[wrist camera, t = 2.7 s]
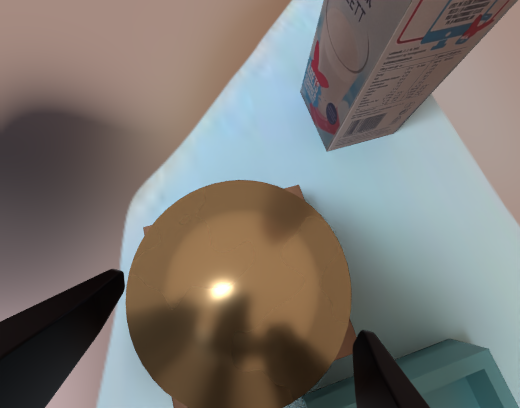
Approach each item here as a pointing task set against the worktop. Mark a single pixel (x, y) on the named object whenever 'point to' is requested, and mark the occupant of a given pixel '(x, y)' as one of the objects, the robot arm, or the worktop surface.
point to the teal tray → (436, 380)
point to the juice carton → (386, 60)
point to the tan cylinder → (238, 297)
